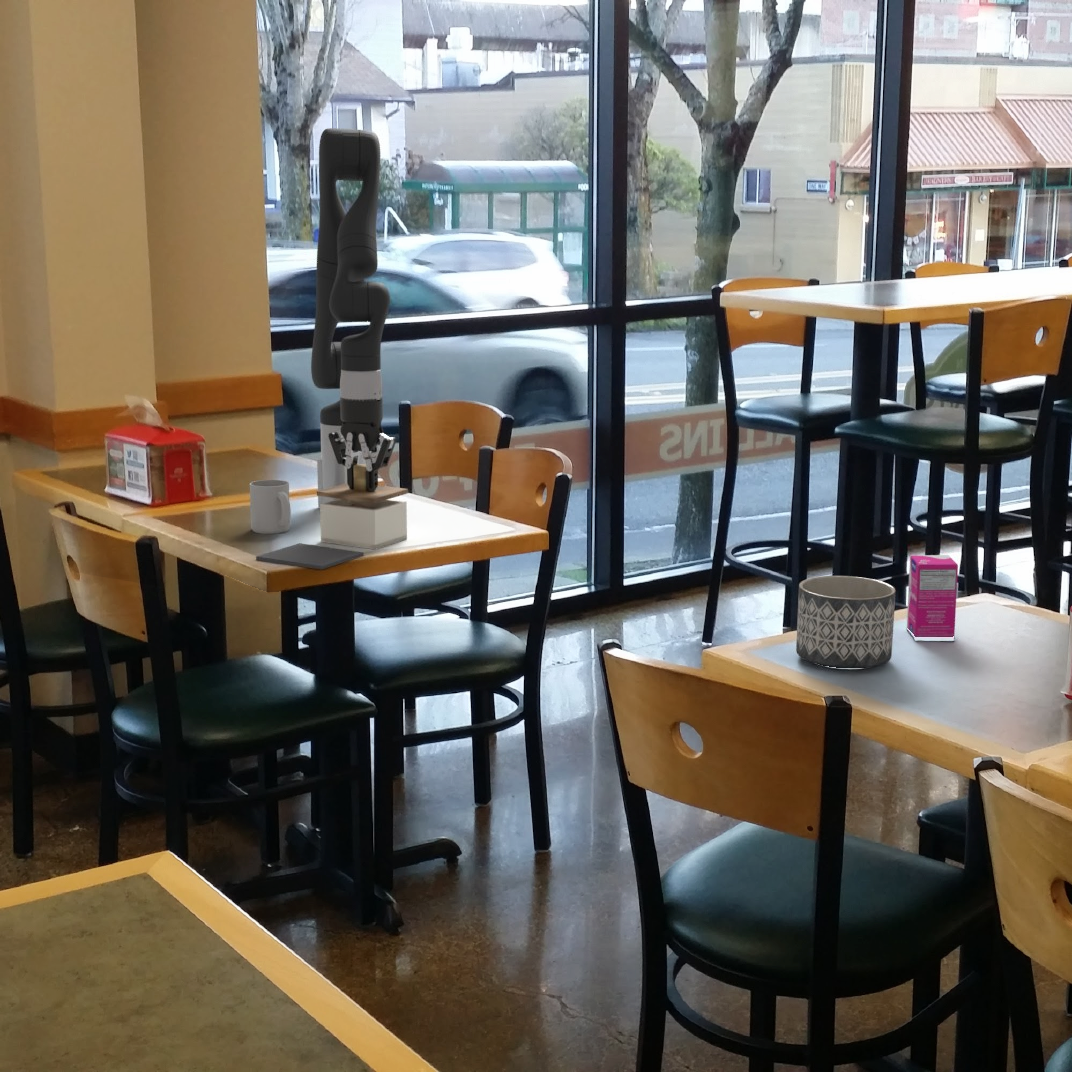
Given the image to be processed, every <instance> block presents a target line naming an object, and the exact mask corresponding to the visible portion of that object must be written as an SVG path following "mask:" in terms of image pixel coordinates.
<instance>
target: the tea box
mask: <svg viewBox="0 0 1072 1072" xmlns="http://www.w3.org/2000/svg"><path fill="white" fill-rule="evenodd" d="M407 504H408V502H407V501H405V500H398V499H387V500H384V501H380V502H377V503H368V502H361V501H353V500H346V499H336V500H333V501H329V502H325V503H322V504H320V507H319V509H320V511H319V515H320V542H321V543H328V544H333V545H334V544H336V545H341V546H342V545H343V546H349V547H355V548H364V549H370V550H379V549H381V548H384V547H387V546H390V545H393V544H396V543H399V542H403V541H406V540H407V539H408V528H407V527H408V519H407V518H408V517H407V516H408V515H407V514H408V513H407V512H408V509H407Z"/></svg>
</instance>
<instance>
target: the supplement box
mask: <svg viewBox="0 0 1072 1072" xmlns="http://www.w3.org/2000/svg"><path fill="white" fill-rule="evenodd" d="M908 571H909V572H908V573H909V574H908V591H907V592H908V595H907V613H906V614H907V615H906V616H907V617H906V618H907V619H906V629H907V628H908V629H909V630H910V631H911V632H912V633H913V634H914V636H915V637H953V636H954V637H955V632H956V628H955V627H956V615H957V614H956V611H957V610H956V609H957V589H958V575H959V574H958V571H959V564H958V563H957V562H956V561H955V560H954V559H953V558H952V557H951V556H950V555H949V554H934V555H933V554H930V555H929V554H928V555H927V554H925V555H924V554H916V555H915V554H914V555H913V554H911V555H910V556H909V570H908Z"/></svg>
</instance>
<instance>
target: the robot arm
mask: <svg viewBox="0 0 1072 1072" xmlns="http://www.w3.org/2000/svg"><path fill="white" fill-rule="evenodd" d="M318 169H319V170H318V173H319V174H318V178H319V179H318V180H319V181H318V182H319V183H318V185H319V219H318V220H319V223H318V234H317V235H318V237H317V251H316V271H315V272H316V277H315V278H316V282H315V284H316V294H315V295H316V297H315V298H316V299H315V301H316V306H315V317H314V318H315V319H314V329H313V330H314V331H313V340H312V349H311V361H310V365H311V366H310V371H311V372H310V373H311V380H312V382H313V384H314V386H315V387H316V388H318V389H321V390H333V389H334V390H338V389H339V390H340V391H339V398H340V399H339V400H338V401H336V402H334V403H331V404H329V405H326V406H324V407H323V408H321V410H320V413H319V414H320V415H319V419H320V422H319V423H320V455H321V458H320V459H318V460H317V461H316V463H317V464H316V468H317V471H316V472H317V475H316V476H317V491H320V490H324V489H327V488H331V487H335V486H338V485H342V484H346V483H347V484H348V486H349V488H350V489H354V473H353V466H354V465H357V464H366V468H367V470H368V471H366V491H370V492H371V491H375V490H376V488H377V487H378V485H379V470H380V469H383V468H386V467H388V465H389V462H390V460H391V457H392V454H393V451H394V448H395V446H396V443H397V438H396V437H394V436H392V437H390V436H388V435H387V434H385V433H384V429H383V427H382V421H383V419H384V418H383V417H384V416H383V415H384V414H383V410H384V409H383V405H384V404H383V400H384V399H383V378H382V370H381V365H382V362H381V360H382V359H381V353H382V351H381V349H382V348H381V344H382V338H383V337H382V336H383V331H384V327H385V323H386V320H387V318H388V317H387V316H388V313H389V309H390V305H391V295H390V291H389V289H388V288H387V286H386V285H385V284H384V283H382V282H380V281H365V279H368V278H370V277H372V276H373V275H375V274H376V272H377V271H378V262H379V261H378V250H377V249H378V248H377V247H378V246H377V245H378V243H377V217H378V207H379V197H380V196H379V195H380V178H381V145H380V139H379V137H378V135H377V133H376V132H375V131H372V130H367V129H365V130H364V129H351V128H337V127H336V128H332V127H331V128H329V127H328V128H325V129H324V130H323V131H322V133H321V135H320V139H319V147H318ZM337 181H349V182H351V181H352V182H362V186H361V190H360V192H359V194H358V196H357V198H356V200H355V201H354V202H353V204H352V205H351V206H350V208H349V209H348V210H347V211H346V210H345V208H344V206H343V202H342V201H341V197H340V195H339V192H338V189H337ZM339 322H341V323H369V326H368V328H367V329H366V330H364V331H363V332H360V333H357V334H351V335H348V336H345V337H343V338H342V340H341V341H333V338H334V334H335V330H336V329H337V326H338V324H339ZM379 447H380V448H379ZM336 499H338V498H330V497H323V496H317V505H318V506H317V507H318V508H320V504H322V503H325V502H329V501H333V500H336Z"/></svg>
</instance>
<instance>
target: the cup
mask: <svg viewBox="0 0 1072 1072" xmlns="http://www.w3.org/2000/svg"><path fill="white" fill-rule="evenodd" d="M249 502H250V503H249V505H250V509H249V510H250V528H251V530H252V532H254V533H257V534H262V535H264V534H265V535H269V534H270V535H272V534H273V535H275V534H283V533H286V532H288V531H289V530H290V528H291V521H290V520H291V514H292V513H291V511H292V510H291V501H290V482H289V481H286V480H284V479H283V480H282V479H281V480H280V479H261V480H255V481H251V482H250V483H249Z"/></svg>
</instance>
